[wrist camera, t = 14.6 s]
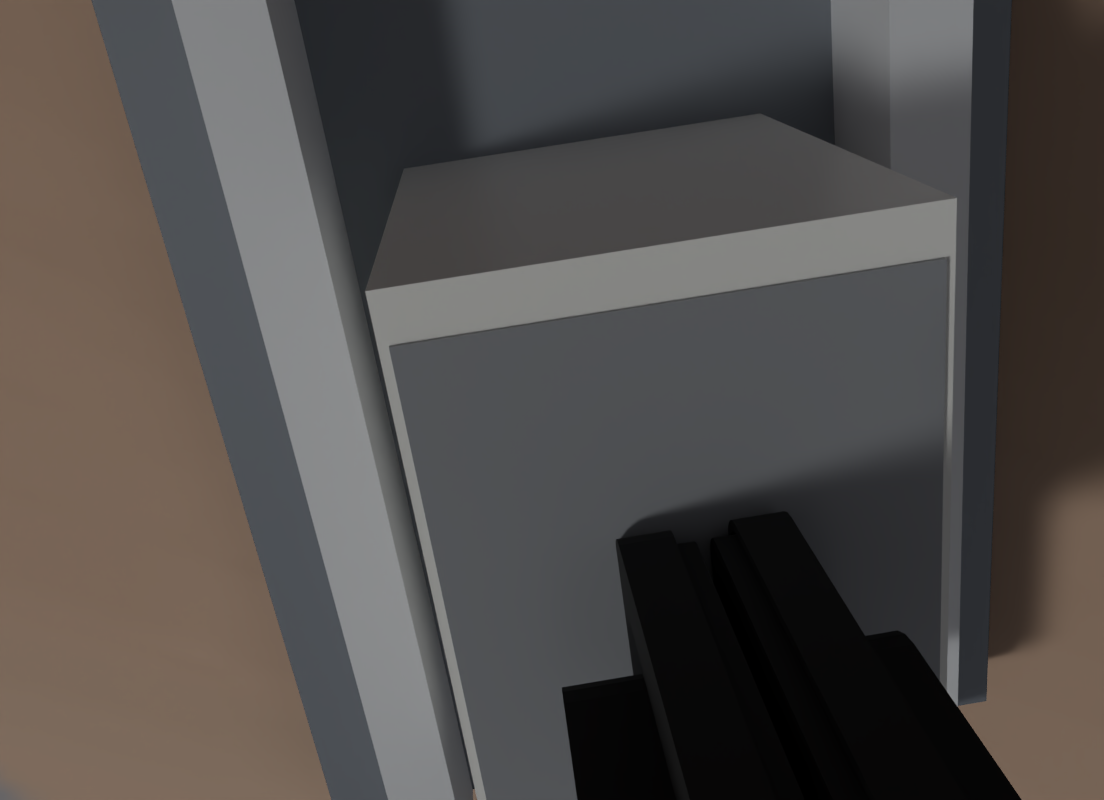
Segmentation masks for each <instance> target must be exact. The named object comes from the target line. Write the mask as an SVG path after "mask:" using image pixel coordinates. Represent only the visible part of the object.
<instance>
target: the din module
mask: <svg viewBox="0 0 1104 800" xmlns="http://www.w3.org/2000/svg"><path fill="white" fill-rule="evenodd" d="M956 221H957V198H956V197H954V196H951V195H949V194H947V193H944V192H942V191H940V190H937V189H935V188H933V187H930V186H928V185H926V184H923V183H921V182H919V181H916V180H914V179H912V178H909V177H907V176H905V175H902V174H900V173H898V172H896V171H893V170H891V169H889V168H886V167H884V166H882V165H879V164H877V163H875V162H872V161H870V160H868V159H865V158H863V157H861V156H858V155H856V154H854V153H851V152H849V151H847V150H844V149H842V148H840V147H837V146H835V145H833V144H830V143H828V142H826V141H823V140H821V139H819V138H816V137H814V136H812V135H809V134H807V133H805V132H802V131H800V130H798V129H795V128H793V127H791V126H788V125H786V124H784V123H781V122H779V121H777V120H774V119H772V118H770V117H767V116H765V115H763V114H761V113H760V114H753V115H747V116H740V117H734V118H727V119H721V120H714V121H708V122H701V123H695V124H689V125H682V126H676V127H669V128H663V129H656V130H650V131H643V132H637V133H630V134H624V135H618V136H611V137H605V138H598V139H592V140H585V141H579V142H572V143H566V144H559V145H553V146H547V147H540V148H534V149H527V150H521V151H514V152H508V153H501V154H495V155H489V156H482V157H476V158H469V159H463V160H456V161H450V162H443V163H437V164H430V165H424V166H418V167H411V168H405V169H404V170H403V173H402V176H401V179H400V182H399V186H398V189H397V192H396V195H395V198H394V201H393V205H392V208H391V211H390V214H389V217H388V220H387V224H386V227H385V230H384V233H383V236H382V239H381V242H380V246H379V249H378V252H377V255H376V258H375V261H374V265H373V268H372V271H371V274H370V277H369V280H368V284H367V287H366V290H365V293H366V298H367V302H368V307H369V311H370V316H371V320H372V325H373V329H374V334H375V339H376V343H377V348H378V352H379V357H380V361H381V366H382V370H383V375H384V379H385V384H386V388H387V393H388V397H389V402H390V406H391V411H392V416H393V420H394V425H395V429H396V434H397V438H398V443H399V447H400V452H401V456H402V461H403V465H404V470H405V474H406V479H407V484H408V488H409V493H410V497H411V502H412V506H413V511H414V515H415V520H416V524H417V529H418V533H419V538H420V542H421V547H422V551H423V556H424V561H425V565H426V570H427V574H428V579H429V583H430V588H431V592H432V597H433V601H434V606H435V610H436V615H437V619H438V624H439V629H440V633H441V638H442V642H443V647H444V651H445V656H446V660H447V665H448V669H449V674H450V678H451V683H452V687H453V692H454V696H455V701H456V706H457V710H458V715H459V719H460V724H461V728H462V733H463V737H464V742H465V746H466V751H467V755H468V760H469V764H470V769H471V774H472V778H473V783H474V787H475V792H476V796H477V800H577V794H576V787H575V780H574V773H573V766H572V758H571V751H570V744H569V737H568V730H567V723H566V716H565V709H564V702H563V694H562V687H567V686H573V685H579V684H585V683H591V682H597V681H602V680H608V679H614V678H620V677H626V676H632V675H633V669H632V662H631V655H630V647H629V640H628V632H627V625H626V618H625V610H624V603H623V595H622V588H621V581H620V573H619V566H618V559H617V551H616V539H620V538H626V537H632V536H638V535H644V534H650V533H656V532H662V531H668V530H670V531H672V533H673V535H674V538H675V540H676V543H677V544H680V543H686V542H692V541H695V542H696V543H697V545H698V547H699V550H700V552H701V555H702V557H703V559H704V562H705V564H706V566H707V569H708V571H709V574H710V576H711V578H712V581H713V573H712V562H711V550H710V543H711V539H712V538H716V537H722V536H728V524H729V522H730V520H734V519H740V518H746V517H752V516H758V515H764V514H770V513H776V512H782V511H786V512H788V513H789V515H790V516H791V517H792V519H793V520H794V522H795V524H796V525H797V527H798V529H799V530H800V532H801V533H802V535H803V537H804V538H805V540H806V541H807V543H808V545H809V546H810V548H811V549H812V551H813V553H814V554H815V556H816V557H817V559H818V561H819V562H820V564H821V565H822V567H823V569H824V570H825V572H826V574H827V575H828V577H829V578H830V580H831V582H832V583H833V585H834V586H835V588H836V590H837V591H838V593H839V594H840V596H841V598H842V599H843V601H844V602H845V604H846V606H847V607H848V609H849V611H850V612H851V614H852V615H853V617H854V619H855V620H856V622H857V623H858V625H859V627H860V628H861V630H862V631H863V633H864V635H865V636H867V635H873V634H879V633H885V632H891V631H897V630H898V631H900V632H902V633H905V634H906V635H907V636H908V637H909V639H910V640H911V641H912V642H913V643H914V644H915V646H916V647H917V649H918V650H919V652H920V653H921V655H922V656H923V657H924V659H925V660H926V662H927V663H928V665H929V666H930V668H931V669H932V671H933V672H934V673H935V675H936V676H937V678H938V679H939V681H940V682H941V684H942V685H943V686H944V688H945V689H946V691H947V655H948V607H949V558H950V510H951V462H952V414H953V365H954V317H955V269H956Z"/></svg>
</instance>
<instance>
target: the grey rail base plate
mask: <svg viewBox="0 0 1104 800" xmlns="http://www.w3.org/2000/svg"><path fill="white" fill-rule="evenodd" d="M92 3H93V7H94V10H95V13H96V17H97V20H98V23H99V27H100V30H101V33H102V37H103V40H104V43H105V47H106V50H107V53H108V57H109V60H110V63H111V67H112V70H113V73H114V77H115V80H116V83H117V87H118V90H119V93H120V97H121V100H122V103H123V107H124V110H125V113H126V117H127V120H128V123H129V127H130V130H131V133H132V137H133V140H134V143H135V147H136V150H137V153H138V157H139V160H140V163H141V167H142V170H143V173H144V177H145V180H146V183H147V187H148V190H149V193H150V197H151V200H152V203H153V207H154V210H155V213H156V217H157V220H158V223H159V227H160V230H161V233H162V237H163V240H164V243H165V247H166V250H167V253H168V257H169V260H170V263H171V267H172V270H173V273H174V277H175V280H176V283H177V287H178V290H179V293H180V297H181V300H182V303H183V307H184V310H185V313H186V317H187V320H188V323H189V327H190V330H191V333H192V337H193V340H194V343H195V347H196V350H197V353H198V357H199V360H200V363H201V366H202V370H203V373H204V376H205V380H206V383H207V386H208V390H209V393H210V396H211V400H212V403H213V406H214V410H215V413H216V416H217V420H218V423H219V426H220V430H221V433H222V436H223V440H224V443H225V446H226V450H227V453H228V456H229V460H230V463H231V466H232V470H233V473H234V476H235V480H236V483H237V486H238V490H239V493H240V496H241V500H242V503H243V506H244V510H245V513H246V516H247V520H248V523H249V526H250V530H251V533H252V536H253V540H254V543H255V546H256V550H257V553H258V556H259V560H260V563H261V566H262V570H263V573H264V576H265V580H266V583H267V586H268V590H269V593H270V596H271V600H272V603H273V606H274V610H275V613H276V616H277V620H278V623H279V626H280V630H281V633H282V636H283V640H284V643H285V646H286V650H287V653H288V656H289V660H290V663H291V666H292V670H293V673H294V676H295V680H296V683H297V686H298V690H299V693H300V696H301V700H302V703H303V706H304V710H305V713H306V716H307V720H308V723H309V726H310V730H311V733H312V736H313V740H314V743H315V746H316V750H317V753H318V756H319V760H320V763H321V766H322V770H323V773H324V776H325V780H326V783H327V786H328V790H329V793H330V796H331V800H473V789H475V787H474V783H473V778H472V774H471V769H470V764H469V760H468V755H467V751H466V746H465V742H464V737H463V733H462V728H461V724H460V719H459V715H458V710H457V706H456V701H455V696H454V692H453V687H452V683H451V678H450V674H449V669H448V665H447V660H446V656H445V651H444V647H443V642H442V638H441V633H440V629H439V624H438V619H437V615H436V610H435V606H434V601H433V597H432V592H431V588H430V583H429V579H428V574H427V570H426V565H425V561H424V556H423V551H422V547H421V542H420V538H419V533H418V529H417V524H416V520H415V515H414V511H413V506H412V502H411V497H410V493H409V488H408V484H407V479H406V474H405V470H404V465H403V461H402V456H401V452H400V447H399V443H398V438H397V434H396V429H395V425H394V420H393V416H392V411H391V406H390V402H389V397H388V393H387V388H386V384H385V379H384V375H383V370H382V366H381V361H380V357H379V352H378V348H377V343H376V339H375V334H374V329H373V325H372V320H371V316H370V311H369V307H368V302H367V298H366V293H365V290H366V287H367V284H368V280H369V277H370V274H371V271H372V268H373V265H374V261H375V258H376V255H377V252H378V249H379V246H380V242H381V239H382V236H383V233H384V230H385V227H386V224H387V220H388V217H389V214H390V211H391V208H392V205H393V201H394V198H395V195H396V192H397V189H398V186H399V182H400V179H401V176H402V173H403V170H404V169H405V168H411V167H418V166H424V165H430V164H437V163H443V162H450V161H456V160H463V159H469V158H476V157H482V156H489V155H495V154H501V153H508V152H514V151H521V150H527V149H534V148H540V147H547V146H553V145H559V144H566V143H572V142H579V141H585V140H592V139H598V138H605V137H611V136H618V135H624V134H630V133H637V132H643V131H650V130H656V129H663V128H669V127H676V126H682V125H689V124H695V123H701V122H708V121H714V120H721V119H727V118H734V117H740V116H747V115H753V114H760V113H761V114H763V115H765V116H767V117H770V118H772V119H774V120H777V121H779V122H781V123H784V124H786V125H788V126H791V127H793V128H795V129H798V130H800V131H802V132H805V133H807V134H809V135H812V136H814V137H816V138H819V139H821V140H823V141H826V142H828V143H830V144H833V145H835V146H837V147H840V148H842V149H844V150H847V151H849V152H851V153H854V154H856V155H858V156H861V157H863V158H865V159H868V160H870V161H872V162H875V163H877V164H879V165H882V166H884V167H886V168H889V169H891V170H893V171H896V172H898V173H900V174H902V175H905V176H907V177H909V178H912V179H914V180H916V181H919V182H921V183H923V184H926V185H928V186H930V187H933V188H935V189H937V190H940V191H942V192H944V193H947V194H949V195H951V196H954V197H956V198H957V221H956V269H955V317H954V365H953V414H952V462H951V510H950V558H949V607H948V655H947V692H948V694H949V695H950V697H951V698H952V700H953V701H954V702H955V704H956V705H957V707H958V706H959V705H965V704H971V703H977V702H983V701H986V694H987V667H988V639H989V612H990V584H991V557H992V529H993V502H994V474H995V447H996V419H997V392H998V364H999V337H1000V309H1001V282H1002V254H1003V226H1004V199H1005V171H1006V144H1007V116H1008V89H1009V61H1010V34H1011V6H1012V0H92Z"/></svg>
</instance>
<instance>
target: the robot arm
mask: <svg viewBox="0 0 1104 800" xmlns="http://www.w3.org/2000/svg"><path fill="white" fill-rule="evenodd" d="M710 550H711V562H712V573H713V581H712V578H711V576H710V574H709V571H708V569H707V566H706V564H705V562H704V559H703V557H702V555H701V552H700V550H699V547H698V545H697V543H696V542H695V541H692V542H686V543H680V544H677V543H676V540H675V538H674V535H673V533H672V531H670V530H668V531H662V532H656V533H650V534H644V535H638V536H632V537H626V538H620V539H616V551H617V559H618V566H619V573H620V581H621V588H622V595H623V603H624V610H625V618H626V625H627V632H628V640H629V647H630V655H631V662H632V669H633V675H632V676H626V677H620V678H614V679H608V680H602V681H597V682H591V683H585V684H579V685H573V686H567V687H562V694H563V702H564V709H565V716H566V723H567V730H568V737H569V744H570V751H571V758H572V766H573V773H574V780H575V787H576V794H577V800H1021V798H1020V797H1019V795H1018V794H1017V792H1016V791H1015V790H1014V788H1013V787H1012V785H1011V784H1010V782H1009V781H1008V779H1007V778H1006V776H1005V775H1004V774H1003V772H1002V771H1001V769H1000V768H999V766H998V765H997V763H996V762H995V761H994V759H993V758H992V756H991V755H990V753H989V752H988V750H987V749H986V747H985V746H984V745H983V743H982V742H981V740H980V739H979V737H978V736H977V734H976V733H975V731H974V730H973V729H972V727H971V726H970V724H969V723H968V721H967V720H966V718H965V717H964V716H963V714H962V713H961V711H960V710H959V708H958V707H957V705H956V704H955V702H954V701H953V700H952V698H951V697H950V695H949V694H948V692H947V691H946V689H945V688H944V686H943V685H942V684H941V682H940V681H939V679H938V678H937V676H936V675H935V673H934V672H933V671H932V669H931V668H930V666H929V665H928V663H927V662H926V660H925V659H924V657H923V656H922V655H921V653H920V652H919V650H918V649H917V647H916V646H915V644H914V643H913V642H912V641H911V640H910V639H909V637H908V636H907V635H906V634H905V633H902V632H900V631H898V630H897V631H891V632H885V633H879V634H873V635H867V636H865V635H864V633H863V631H862V630H861V628H860V627H859V625H858V623H857V622H856V620H855V619H854V617H853V615H852V614H851V612H850V611H849V609H848V607H847V606H846V604H845V602H844V601H843V599H842V598H841V596H840V594H839V593H838V591H837V590H836V588H835V586H834V585H833V583H832V582H831V580H830V578H829V577H828V575H827V574H826V572H825V570H824V569H823V567H822V565H821V564H820V562H819V561H818V559H817V557H816V556H815V554H814V553H813V551H812V549H811V548H810V546H809V545H808V543H807V541H806V540H805V538H804V537H803V535H802V533H801V532H800V530H799V529H798V527H797V525H796V524H795V522H794V520H793V519H792V517H791V516H790V515H789V513H788V512H786V511H782V512H776V513H770V514H764V515H758V516H752V517H746V518H740V519H734V520H730V522H729V524H728V536H722V537H716V538H712V539H711V543H710Z"/></svg>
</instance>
